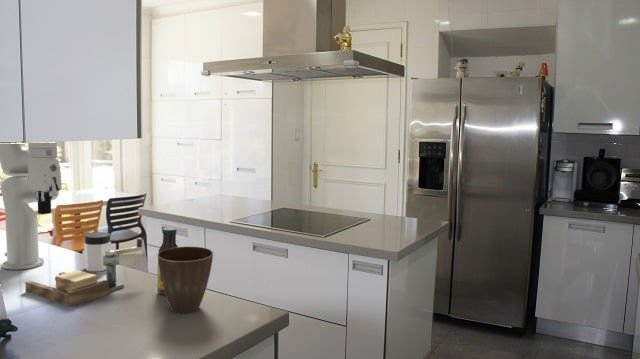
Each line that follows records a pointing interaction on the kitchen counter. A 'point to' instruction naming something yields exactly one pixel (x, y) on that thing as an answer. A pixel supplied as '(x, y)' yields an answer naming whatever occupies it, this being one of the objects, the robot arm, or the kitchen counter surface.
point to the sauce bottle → (168, 243)
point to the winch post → (112, 272)
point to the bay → (69, 292)
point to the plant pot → (185, 276)
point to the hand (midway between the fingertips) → (44, 213)
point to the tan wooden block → (74, 280)
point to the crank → (124, 250)
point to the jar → (96, 250)
